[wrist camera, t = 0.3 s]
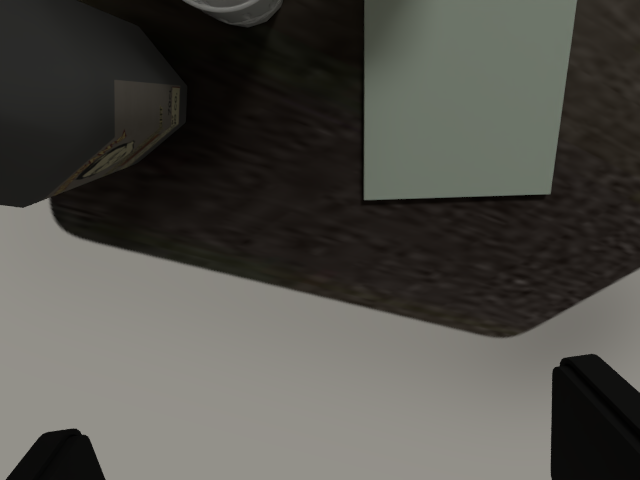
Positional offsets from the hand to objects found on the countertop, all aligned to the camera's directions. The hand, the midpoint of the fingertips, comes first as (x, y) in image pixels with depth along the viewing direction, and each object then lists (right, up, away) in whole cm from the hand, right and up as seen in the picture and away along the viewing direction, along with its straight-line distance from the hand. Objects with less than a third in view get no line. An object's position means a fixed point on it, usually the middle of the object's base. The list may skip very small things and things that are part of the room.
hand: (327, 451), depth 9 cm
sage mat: (+11, +16, +27) cm, 33 cm away
